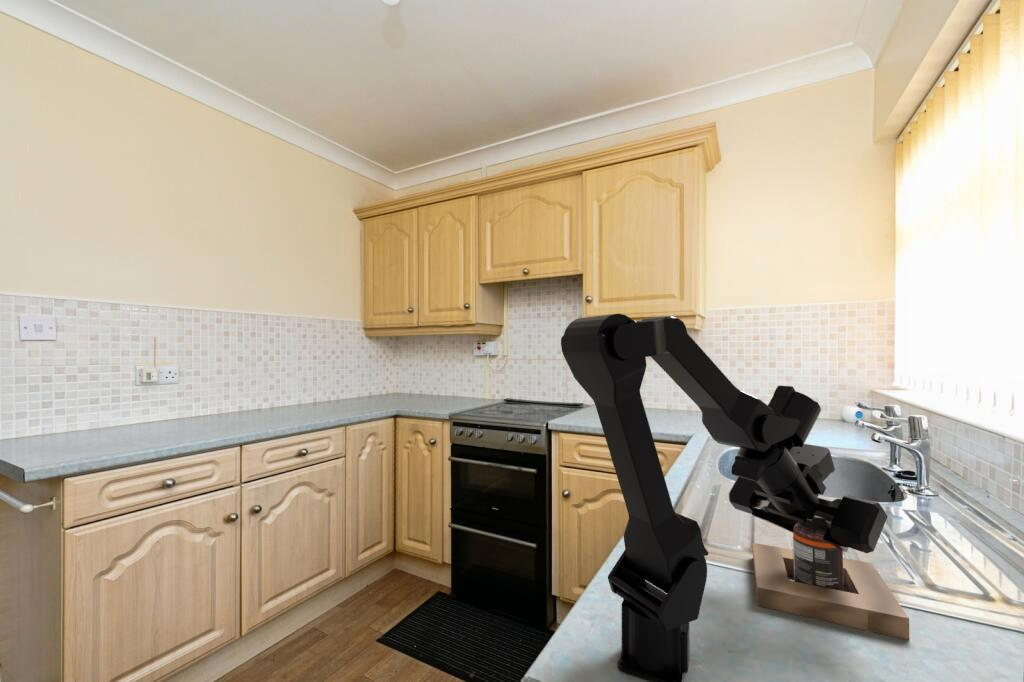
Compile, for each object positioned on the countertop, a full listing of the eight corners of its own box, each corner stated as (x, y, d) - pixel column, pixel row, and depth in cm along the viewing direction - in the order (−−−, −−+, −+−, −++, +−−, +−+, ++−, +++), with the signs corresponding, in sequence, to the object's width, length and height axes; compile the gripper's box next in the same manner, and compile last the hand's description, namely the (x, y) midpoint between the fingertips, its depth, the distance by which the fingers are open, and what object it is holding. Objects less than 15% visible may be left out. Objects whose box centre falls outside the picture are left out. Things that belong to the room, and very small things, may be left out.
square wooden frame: (757, 605, 61) (757, 587, 61) (752, 557, 75) (752, 542, 75) (909, 639, 54) (909, 618, 54) (872, 579, 68) (871, 563, 68)
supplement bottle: (823, 581, 68) (822, 505, 68) (854, 603, 62) (853, 520, 62) (784, 581, 67) (783, 505, 68) (812, 603, 61) (811, 520, 62)
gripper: (878, 439, 55) (921, 515, 60) (739, 418, 72) (781, 479, 76) (845, 513, 51) (893, 588, 56) (706, 474, 68) (753, 535, 73)
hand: (822, 540), depth 65 cm, fingers closed on supplement bottle, 6 cm apart
